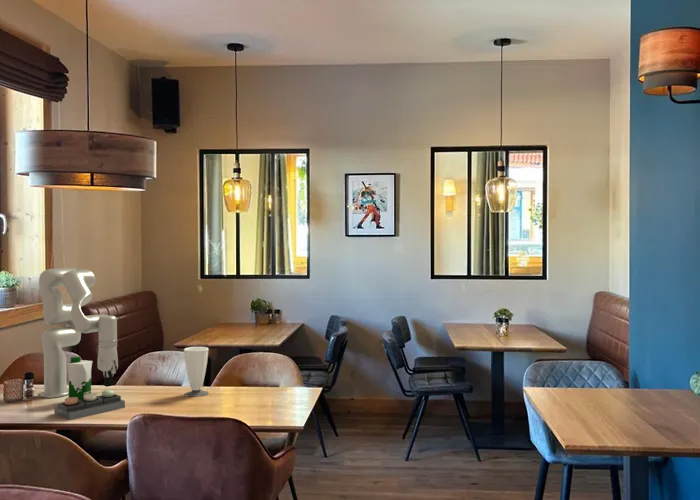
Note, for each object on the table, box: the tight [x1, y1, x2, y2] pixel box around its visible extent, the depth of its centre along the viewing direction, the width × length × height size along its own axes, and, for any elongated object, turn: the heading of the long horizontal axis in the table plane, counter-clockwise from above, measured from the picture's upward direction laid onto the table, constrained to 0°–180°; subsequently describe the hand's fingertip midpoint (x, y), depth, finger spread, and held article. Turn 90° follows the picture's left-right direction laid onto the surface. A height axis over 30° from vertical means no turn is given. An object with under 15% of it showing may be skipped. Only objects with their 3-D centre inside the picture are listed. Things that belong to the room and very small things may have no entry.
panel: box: [53, 393, 126, 421], centre depth 253 cm, size 14×24×5 cm, turn 139°
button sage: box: [101, 389, 115, 397], centre depth 259 cm, size 5×5×2 cm
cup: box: [183, 346, 210, 398], centre depth 280 cm, size 12×12×22 cm
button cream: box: [84, 392, 98, 401], centre depth 253 cm, size 5×5×2 cm
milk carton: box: [66, 356, 93, 400], centre depth 267 cm, size 9×9×20 cm
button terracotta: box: [64, 396, 78, 405], centre depth 247 cm, size 5×5×2 cm
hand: (108, 385), depth 259 cm, fingers closed
